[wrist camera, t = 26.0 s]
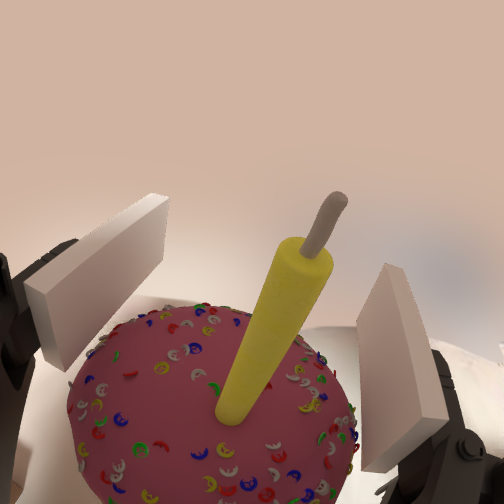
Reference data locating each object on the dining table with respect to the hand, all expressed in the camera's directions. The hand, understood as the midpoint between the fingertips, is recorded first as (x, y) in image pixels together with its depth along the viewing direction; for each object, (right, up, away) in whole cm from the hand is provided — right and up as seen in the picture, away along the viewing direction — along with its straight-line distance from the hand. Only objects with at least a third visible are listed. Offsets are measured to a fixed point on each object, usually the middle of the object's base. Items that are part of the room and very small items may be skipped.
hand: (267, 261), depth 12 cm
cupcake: (-3, -8, -1) cm, 9 cm away
